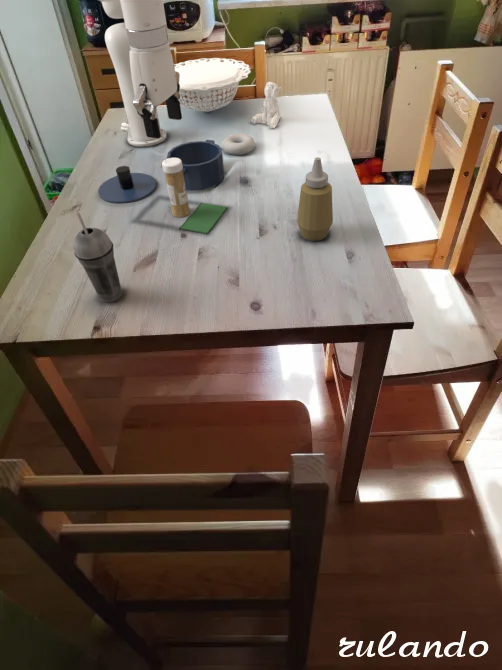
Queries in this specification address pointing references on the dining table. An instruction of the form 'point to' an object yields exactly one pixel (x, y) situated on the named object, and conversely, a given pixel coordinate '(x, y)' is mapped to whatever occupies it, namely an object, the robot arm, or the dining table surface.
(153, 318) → the dining table surface
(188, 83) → the white wicker basket
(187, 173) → the pot
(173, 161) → the sprinkles bottle
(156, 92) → the robot arm
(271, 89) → the seated beast figurine
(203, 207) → the green flat rectangular board
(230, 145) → the donut
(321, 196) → the squeeze bottle
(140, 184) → the lid
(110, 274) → the beverage cup
